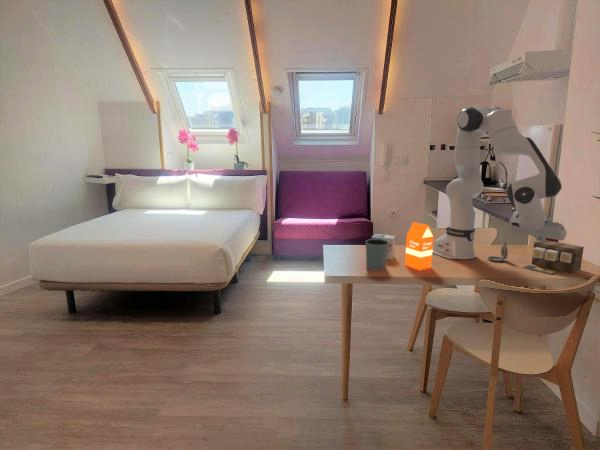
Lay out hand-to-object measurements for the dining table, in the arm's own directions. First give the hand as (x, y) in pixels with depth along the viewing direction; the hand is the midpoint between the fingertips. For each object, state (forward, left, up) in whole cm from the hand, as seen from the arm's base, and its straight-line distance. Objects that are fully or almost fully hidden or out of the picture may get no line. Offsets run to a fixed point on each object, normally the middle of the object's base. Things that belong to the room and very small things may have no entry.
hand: (541, 239), depth 171 cm
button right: (+5, +17, -11) cm, 21 cm away
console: (0, +20, -16) cm, 25 cm away
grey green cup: (-50, -45, -16) cm, 69 cm away
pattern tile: (-2, +9, -16) cm, 18 cm away
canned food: (-9, +33, -16) cm, 37 cm away
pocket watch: (-21, +9, -16) cm, 28 cm away
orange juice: (-39, -29, -16) cm, 51 cm away
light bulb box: (-59, -30, -16) cm, 68 cm away
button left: (-5, +15, -11) cm, 19 cm away
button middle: (0, +15, -11) cm, 19 cm away
